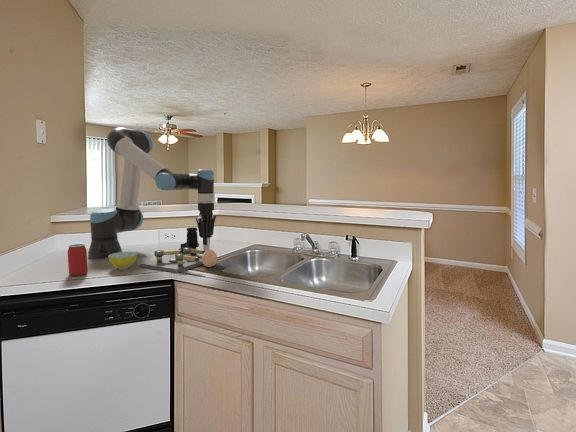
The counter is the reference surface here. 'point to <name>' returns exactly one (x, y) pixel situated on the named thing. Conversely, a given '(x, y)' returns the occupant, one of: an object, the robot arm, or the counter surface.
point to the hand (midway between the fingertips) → (206, 250)
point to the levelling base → (170, 264)
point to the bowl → (122, 259)
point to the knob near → (165, 253)
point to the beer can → (77, 260)
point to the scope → (191, 240)
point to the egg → (209, 258)
